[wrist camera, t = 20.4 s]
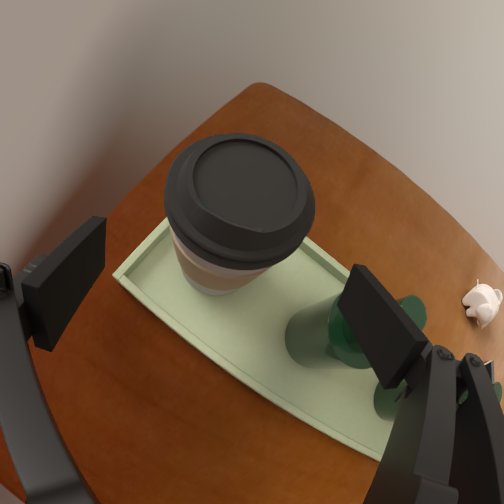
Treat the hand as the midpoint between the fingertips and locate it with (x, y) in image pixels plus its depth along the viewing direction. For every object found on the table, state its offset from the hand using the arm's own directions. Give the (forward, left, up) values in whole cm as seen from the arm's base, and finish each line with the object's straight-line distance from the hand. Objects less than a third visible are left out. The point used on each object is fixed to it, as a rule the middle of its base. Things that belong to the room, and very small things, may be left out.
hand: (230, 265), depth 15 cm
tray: (+10, +4, -14) cm, 18 cm away
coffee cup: (-2, +4, -14) cm, 15 cm away
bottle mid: (+10, +4, -14) cm, 18 cm away
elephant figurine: (+32, +23, -14) cm, 42 cm away
